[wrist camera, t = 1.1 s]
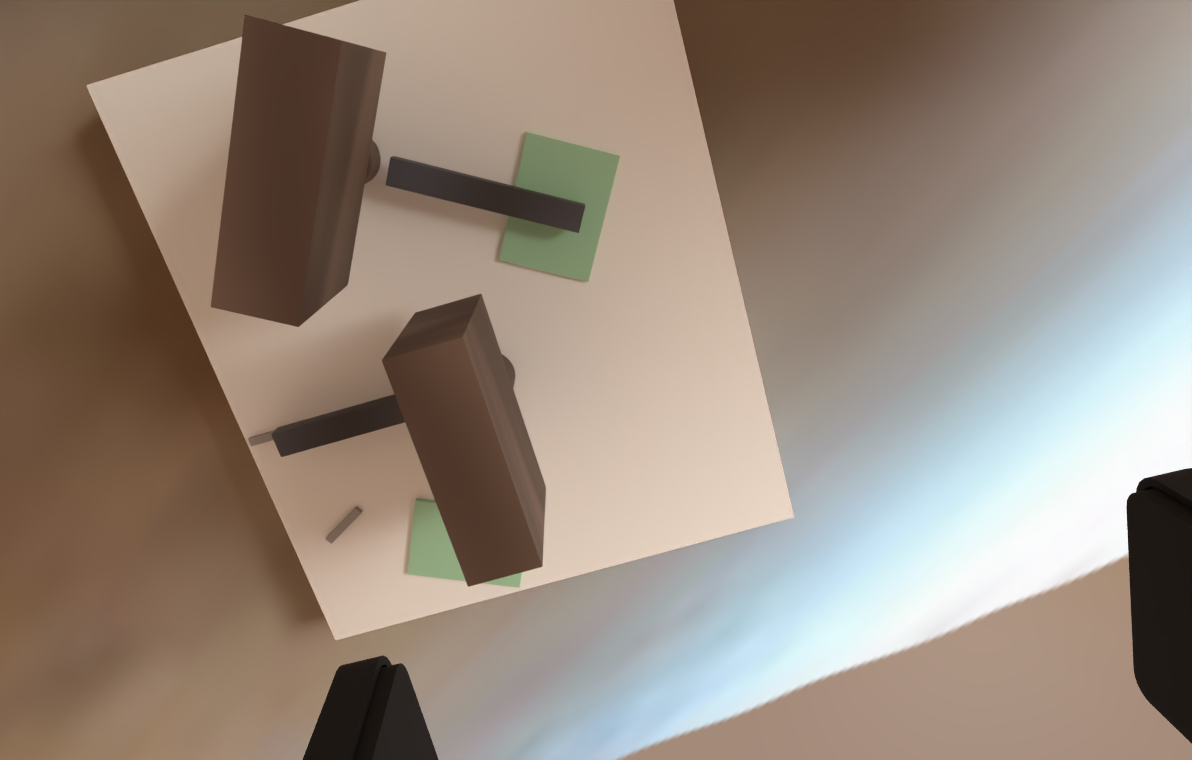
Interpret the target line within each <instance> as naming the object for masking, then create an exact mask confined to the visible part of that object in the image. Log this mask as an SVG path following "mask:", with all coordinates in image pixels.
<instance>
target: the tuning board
mask: <svg viewBox="0 0 1192 760" xmlns="http://www.w3.org/2000/svg"><path fill="white" fill-rule="evenodd" d="M282 25H286V26H289V27H293V28H297V29H301V30H304V31H308V32H312V33H316V34H320V35H323V36H327V37H331V38H335V39H339V40H342V41H346V42H350V43H353V44H357V45H361V46H364V47H368V48H372V49H375V50H379V51H383V52H386V59H385V65H384V71H383V77H382V83H381V89H380V95H379V101H378V107H377V113H376V119H375V125H374V131H373V137H372V140H373V141H374V142H375V143H376V145H377V147H378V149H379V152H380V157H381V162H380V168H379V171H378V173H377V174H376V176H375V177H374V178H373V179H372V180H371V181H369V182H368V183H366V184H365V185H364V191H363V197H362V203H361V209H360V215H359V221H358V227H357V233H356V239H355V245H354V251H353V257H352V263H351V269H350V275H349V282H348V285H347V286H346V287H345V288H344V289H343V290H342V291H340V292H339V293H338V294H337V295H336V296H335V297H333V298H332V299H331V300H330V301H329V302H328V303H326V304H325V305H324V306H323V307H322V308H320V309H319V310H318V311H317V312H316V313H315V314H313V315H312V316H311V317H310V318H309V319H308V320H306V321H305V322H304V323H303V324H302V325H301V326H299V327H296V326H292V325H287V324H283V323H278V322H274V321H270V320H265V319H261V318H256V317H252V316H247V315H243V314H239V313H234V312H230V311H225V310H221V309H217V308H212V307H211V299H212V290H213V282H214V273H215V265H216V256H217V248H218V239H219V231H220V222H221V214H222V205H223V197H224V188H225V180H226V171H227V163H228V154H229V146H230V137H231V129H232V120H233V112H234V103H235V95H236V86H237V78H238V69H239V61H240V52H241V44H242V37H240V38H237V39H234V40H230V41H227V42H224V43H221V44H217V45H214V46H211V47H208V48H205V49H201V50H198V51H195V52H192V53H188V54H185V55H182V56H179V57H176V58H172V59H169V60H166V61H163V62H159V63H156V64H153V65H150V66H146V67H143V68H140V69H137V70H134V71H130V72H127V73H124V74H121V75H117V76H114V77H111V78H108V79H105V80H101V81H98V82H95V83H92V84H88V85H86V86H87V89H88V91H89V93H90V95H91V98H92V100H93V102H94V104H95V106H96V109H97V111H98V113H99V115H100V118H101V120H102V122H103V124H104V126H105V129H106V131H107V133H108V135H109V138H110V140H111V142H112V144H113V146H114V149H115V151H116V153H117V155H118V158H119V160H120V162H121V164H122V167H123V169H124V171H125V173H126V175H127V178H128V180H129V182H130V184H131V187H132V189H133V191H134V193H135V195H136V198H137V200H138V202H139V204H140V207H141V209H142V211H143V213H144V215H145V218H146V220H147V222H148V224H149V227H150V229H151V231H152V233H153V235H154V238H155V240H156V242H157V244H158V247H159V249H160V251H161V253H162V256H163V258H164V260H165V262H166V264H167V267H168V269H169V271H170V273H171V276H172V278H173V280H174V282H175V284H176V287H177V289H178V291H179V293H180V296H181V298H182V300H183V302H184V304H185V307H186V309H187V311H188V313H189V316H190V318H191V320H192V322H193V324H194V327H195V329H196V331H197V333H198V336H199V338H200V340H201V342H202V345H203V347H204V349H205V351H206V353H207V356H208V358H209V360H210V362H211V365H212V367H213V369H214V371H215V373H216V376H217V378H218V380H219V382H220V385H221V387H222V389H223V391H224V393H225V396H226V398H227V400H228V402H229V405H230V407H231V409H232V411H233V413H234V416H235V418H236V420H237V422H238V425H239V427H240V429H241V431H242V433H243V436H244V438H245V440H246V442H247V445H248V447H249V449H250V451H251V454H252V456H253V458H254V460H255V462H256V465H257V467H258V469H259V471H260V474H261V476H262V478H263V480H264V482H265V485H266V487H267V489H268V491H269V494H270V496H271V498H272V500H273V502H274V505H275V507H276V509H277V511H278V514H279V516H280V518H281V520H282V522H283V525H284V527H285V529H286V531H287V534H288V536H289V538H290V540H291V543H292V545H293V547H294V549H295V551H296V554H297V556H298V558H299V560H300V563H301V565H302V567H303V569H304V571H305V574H306V576H307V578H308V580H309V583H310V585H311V587H312V589H313V591H314V594H315V596H316V598H317V600H318V603H319V605H320V607H321V609H322V611H323V614H324V616H325V618H326V620H327V623H328V625H329V627H330V629H331V631H332V634H333V636H334V638H335V640H339V639H343V638H347V637H350V636H354V635H358V634H361V633H365V632H369V631H373V630H376V629H380V628H384V627H387V626H391V625H395V624H399V623H402V622H406V621H410V620H413V619H417V618H421V617H425V616H428V615H432V614H436V613H439V612H443V611H447V610H451V609H454V608H458V607H462V606H466V605H469V604H473V603H477V602H480V601H484V600H488V599H492V598H495V597H499V596H503V595H506V594H510V593H514V592H518V591H521V590H525V589H529V588H532V587H536V586H540V585H544V584H547V583H551V582H555V581H559V580H562V579H566V578H570V577H573V576H577V575H581V574H585V573H588V572H592V571H596V570H599V569H603V568H607V567H611V566H614V565H618V564H622V563H625V562H629V561H633V560H637V559H640V558H644V557H648V556H651V555H655V554H659V553H663V552H666V551H670V550H674V549H678V548H681V547H685V546H689V545H692V544H696V543H700V542H704V541H707V540H711V539H715V538H718V537H722V536H726V535H730V534H733V533H737V532H741V531H744V530H748V529H752V528H756V527H759V526H763V525H767V524H771V523H774V522H778V521H782V520H785V519H789V518H793V517H794V514H793V510H792V506H791V502H790V497H789V493H788V489H787V484H786V480H785V476H784V472H783V467H782V463H781V459H780V454H779V450H778V446H777V442H776V437H775V433H774V429H773V424H772V420H771V416H770V412H769V407H768V403H767V399H766V395H765V390H764V386H763V382H762V377H761V373H760V369H759V365H758V360H757V356H756V352H755V347H754V343H753V339H752V335H751V330H750V326H749V322H748V317H747V313H746V309H745V305H744V300H743V296H742V292H741V287H740V283H739V279H738V275H737V270H736V266H735V262H734V257H733V253H732V249H731V245H730V240H729V236H728V232H727V227H726V223H725V219H724V215H723V210H722V206H721V202H720V198H719V193H718V189H717V185H716V180H715V176H714V172H713V168H712V163H711V159H710V155H709V150H708V146H707V142H706V138H705V133H704V129H703V125H702V120H701V116H700V112H699V108H698V103H697V99H696V95H695V90H694V86H693V82H692V78H691V73H690V69H689V65H688V60H687V56H686V52H685V48H684V43H683V39H682V35H681V30H680V26H679V22H678V18H677V13H676V9H675V5H674V0H359V1H356V2H353V3H350V4H347V5H343V6H340V7H337V8H334V9H330V10H327V11H324V12H321V13H317V14H314V15H311V16H308V17H305V18H301V19H298V20H295V21H292V22H288V23H285V24H282ZM393 156H397V157H401V158H405V159H409V160H413V161H417V162H421V163H425V164H428V165H432V166H436V167H440V168H444V169H448V170H452V171H456V172H460V173H464V174H468V175H472V176H476V177H480V178H484V179H488V180H492V181H496V182H500V183H504V184H508V185H512V186H516V187H520V188H524V189H528V190H532V191H536V192H540V193H544V194H548V195H552V196H556V197H560V198H564V199H568V200H572V201H576V202H580V203H584V204H585V210H584V214H583V218H582V222H581V226H580V230H579V233H576V232H572V231H568V230H564V229H560V228H556V227H552V226H548V225H544V224H540V223H536V222H532V221H528V220H524V219H520V218H515V217H511V216H507V215H503V214H499V213H495V212H491V211H487V210H483V209H479V208H475V207H471V206H467V205H463V204H459V203H455V202H451V201H447V200H443V199H439V198H435V197H431V196H427V195H423V194H419V193H414V192H410V191H406V190H402V189H398V188H394V187H390V186H386V179H387V173H388V168H389V162H390V157H393ZM478 294H482V297H483V300H484V303H485V306H486V309H487V312H488V315H489V318H490V321H491V324H492V327H493V330H494V333H495V336H496V339H497V342H498V345H499V348H500V351H501V354H502V355H504V356H505V357H507V358H508V359H509V360H510V362H511V363H512V365H513V367H514V370H515V382H514V388H513V390H514V393H515V396H516V399H517V402H518V405H519V408H520V411H521V414H522V417H523V420H524V423H525V426H526V429H527V432H528V435H529V438H530V441H531V444H532V447H533V450H534V453H535V456H536V459H537V462H538V465H539V468H540V471H541V474H542V477H543V480H544V483H545V486H546V500H545V521H544V543H543V565H542V567H540V568H536V569H533V570H529V571H525V572H521V573H518V574H514V575H510V576H507V577H503V578H499V579H496V580H492V581H488V582H484V583H481V584H477V585H473V586H470V587H468V585H467V583H466V580H465V578H464V575H463V572H462V570H461V567H460V564H459V562H458V559H457V557H456V554H455V551H454V549H453V546H452V543H451V541H450V538H449V536H448V533H447V530H446V528H445V525H444V523H443V520H442V517H441V515H440V512H439V509H438V507H437V504H436V502H435V499H434V496H433V494H432V491H431V488H430V486H429V483H428V481H427V478H426V475H425V473H424V470H423V468H422V465H421V462H420V460H419V457H418V454H417V452H416V449H415V447H414V444H413V441H412V439H411V436H410V433H409V431H408V428H407V426H406V423H401V424H398V425H394V426H390V427H387V428H383V429H380V430H376V431H373V432H369V433H366V434H362V435H359V436H355V437H351V438H348V439H344V440H341V441H337V442H334V443H330V444H327V445H323V446H319V447H316V448H312V449H309V450H305V451H302V452H298V453H295V454H291V455H288V456H284V457H281V456H280V454H279V451H278V449H277V447H276V444H275V442H274V440H273V438H272V435H271V434H272V433H273V432H274V431H275V430H276V429H277V427H281V426H284V425H288V424H291V423H295V422H298V421H302V420H305V419H309V418H312V417H316V416H319V415H323V414H327V413H330V412H334V411H337V410H341V409H344V408H348V407H351V406H355V405H358V404H362V403H365V402H369V401H372V400H376V399H379V398H383V397H386V396H390V395H393V394H394V392H393V389H392V386H391V384H390V381H389V378H388V376H387V373H386V371H385V368H384V365H383V363H382V359H383V358H384V356H385V355H386V353H387V352H388V350H389V349H390V348H391V346H392V345H393V343H394V342H395V340H396V339H397V338H398V336H399V335H400V333H401V332H402V330H403V329H404V328H405V326H406V325H407V323H408V322H409V320H410V319H411V318H412V316H413V315H414V313H416V312H419V311H423V310H426V309H430V308H433V307H436V306H440V305H443V304H447V303H450V302H454V301H457V300H461V299H464V298H468V297H471V296H475V295H478Z"/></svg>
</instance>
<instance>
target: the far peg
mask: <svg viewBox="0 0 1192 760" xmlns="http://www.w3.org/2000/svg"><path fill="white" fill-rule="evenodd" d="M382 363H383V365H384V368H385V371H386V373H387V376H388V378H389V381H390V384H391V386H392V389H393V392H394V394H393V395H390V396H386V397H383V398H379V399H376V400H372V401H369V402H365V403H362V404H358V405H355V406H351V407H348V408H344V409H341V410H337V411H334V412H330V413H327V414H323V415H319V416H316V417H312V418H309V419H305V420H302V421H298V422H295V423H291V424H288V425H284V426H281V427H277V429H276V430H275V431H274V432H273V433H272V434H271V435H272V438H273V440H274V442H275V444H276V447H277V449H278V451H279V454H280V456H281V457H284V456H288V455H291V454H295V453H298V452H302V451H305V450H309V449H312V448H316V447H319V446H323V445H327V444H330V443H334V442H337V441H341V440H344V439H348V438H351V437H355V436H359V435H362V434H366V433H369V432H373V431H376V430H380V429H383V428H387V427H390V426H394V425H398V424H401V423H406V426H407V428H408V431H409V433H410V436H411V439H412V441H413V444H414V447H415V449H416V452H417V454H418V457H419V460H420V462H421V465H422V468H423V470H424V473H425V475H426V478H427V481H428V483H429V486H430V488H431V491H432V494H433V496H434V499H435V502H436V504H437V507H438V509H439V512H440V515H441V517H442V520H443V523H444V525H445V528H446V530H447V533H448V536H449V538H450V541H451V543H452V546H453V549H454V551H455V554H456V557H457V559H458V562H459V564H460V567H461V570H462V572H463V575H464V578H465V580H466V583H467V585H468V587H470V586H473V585H477V584H481V583H484V582H488V581H492V580H496V579H499V578H503V577H507V576H510V575H514V574H518V573H521V572H525V571H529V570H533V569H536V568H540V567H542V565H543V543H544V521H545V500H546V486H545V483H544V480H543V477H542V474H541V471H540V468H539V465H538V462H537V459H536V456H535V453H534V450H533V447H532V444H531V441H530V438H529V435H528V432H527V429H526V426H525V423H524V420H523V417H522V414H521V411H520V408H519V405H518V402H517V399H516V396H515V393H514V390H513V388H514V382H515V370H514V367H513V365H512V363H511V362H510V360H509V359H508V358H507V357H505V356H504V355H502V354H501V351H500V348H499V345H498V342H497V339H496V336H495V333H494V330H493V327H492V324H491V321H490V318H489V315H488V312H487V309H486V306H485V303H484V300H483V297H482V294H478V295H475V296H471V297H468V298H464V299H461V300H457V301H454V302H450V303H447V304H443V305H440V306H436V307H433V308H430V309H426V310H423V311H419V312H416V313H414V315H413V316H412V318H411V319H410V320H409V322H408V323H407V325H406V326H405V328H404V329H403V330H402V332H401V333H400V335H399V336H398V338H397V339H396V340H395V342H394V343H393V345H392V346H391V348H390V349H389V350H388V352H387V353H386V355H385V356H384V358H383V359H382Z"/></svg>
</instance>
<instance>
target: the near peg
mask: <svg viewBox="0 0 1192 760" xmlns="http://www.w3.org/2000/svg"><path fill="white" fill-rule="evenodd" d="M385 59H386V52H383V51H379V50H375V49H372V48H368V47H364V46H361V45H357V44H353V43H350V42H346V41H342V40H339V39H335V38H331V37H327V36H323V35H320V34H316V33H312V32H308V31H304V30H301V29H297V28H293V27H289V26H286V25H282V24H278V23H274V22H270V21H267V20H263V19H259V18H255V17H252V16H248V15H245V18H244V27H243V35H242V44H241V52H240V61H239V69H238V78H237V86H236V95H235V103H234V112H233V120H232V129H231V137H230V146H229V154H228V163H227V171H226V180H225V188H224V197H223V205H222V214H221V222H220V231H219V239H218V248H217V256H216V265H215V273H214V282H213V290H212V299H211V307H212V308H217V309H221V310H225V311H230V312H234V313H239V314H243V315H247V316H252V317H256V318H261V319H265V320H270V321H274V322H278V323H283V324H287V325H292V326H296V327H299V326H301V325H302V324H303V323H304V322H305V321H306V320H308V319H309V318H310V317H311V316H312V315H313V314H315V313H316V312H317V311H318V310H319V309H320V308H322V307H323V306H324V305H325V304H326V303H328V302H329V301H330V300H331V299H332V298H333V297H335V296H336V295H337V294H338V293H339V292H340V291H342V290H343V289H344V288H345V287H346V286H347V285H348V282H349V275H350V269H351V263H352V257H353V251H354V245H355V239H356V233H357V227H358V221H359V215H360V209H361V203H362V197H363V191H364V185H365V184H366V183H368V182H369V181H371V180H372V179H373V178H374V177H375V176H376V174H377V173H378V171H379V168H380V162H381V157H380V152H379V149H378V147H377V145H376V143H375V142H374V141H373V140H372V137H373V131H374V125H375V119H376V113H377V107H378V101H379V95H380V89H381V83H382V77H383V71H384V65H385ZM386 186H390V187H394V188H398V189H402V190H406V191H410V192H414V193H419V194H423V195H427V196H431V197H435V198H439V199H443V200H447V201H451V202H455V203H459V204H463V205H467V206H471V207H475V208H479V209H483V210H487V211H491V212H495V213H499V214H503V215H507V216H511V217H515V218H520V219H524V220H528V221H532V222H536V223H540V224H544V225H548V226H552V227H556V228H560V229H564V230H568V231H572V232H576V233H579V230H580V226H581V222H582V218H583V214H584V210H585V204H584V203H580V202H576V201H572V200H568V199H564V198H560V197H556V196H552V195H548V194H544V193H540V192H536V191H532V190H528V189H524V188H520V187H516V186H512V185H508V184H504V183H500V182H496V181H492V180H488V179H484V178H480V177H476V176H472V175H468V174H464V173H460V172H456V171H452V170H448V169H444V168H440V167H436V166H432V165H428V164H425V163H421V162H417V161H413V160H409V159H405V158H401V157H397V156H393V157H390V162H389V168H388V173H387V179H386Z"/></svg>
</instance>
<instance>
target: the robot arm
mask: <svg viewBox="0 0 1192 760" xmlns="http://www.w3.org/2000/svg"><path fill="white" fill-rule="evenodd" d="M1127 527H1128V550H1129V570H1130V571H1129V572H1130V594H1131V616H1132V638H1133V662H1134V673H1135V678H1136V680H1137V684H1138V686H1139V688H1140V690H1141V692H1142V693H1143V695H1144V696H1145V698H1146V699H1147V700H1148V701H1149V702H1150V703H1151V704H1152V705H1153V706H1154V707H1155V708H1156V709H1157V710H1158V711H1159V712H1160V713H1161V714H1162V715H1163V716H1164V717H1165V718H1166V719H1167V720H1168V721H1169V722H1170V723H1171V724H1172V725H1173V726H1174V727H1175V728H1176V729H1177V730H1179V732H1180V733H1182V734H1183V735H1184V736H1185V737H1186V738H1187V739H1188V740H1189V741H1190V742H1191V743H1192V468H1190V469H1183V470H1179V471H1174V472H1170V473H1166V474H1161V475H1157V476H1153V477H1149V478H1144V479H1143V480H1142V481H1140V482H1139V484H1138V487H1137V491H1136V493H1132V494H1131V495H1130V496H1129V497H1128V500H1127ZM303 760H438V757H437V754H436V751H435V748H434V746H433V743H432V740H431V737H430V734H429V731H428V729H427V726H426V723H425V720H424V717H423V714H422V711H421V709H420V706H419V703H418V700H417V697H416V694H415V691H414V689H413V686H412V683H411V680H410V677H409V674H408V672H407V670H406V668H405V666H404V665H403V664H401V663H400V664H396V665H391V663H390V661H389V660H388V658H387V657H385V656H379V657H375V658H371V659H366V660H362V661H358V662H354V663H349V664H345V665H342V666H340V667H339V668H338V670H337V671H336V674H335V676H334V679H333V682H332V684H331V687H330V689H329V692H328V695H327V697H326V700H325V703H324V705H323V708H322V710H321V713H320V716H319V718H318V721H317V724H316V726H315V729H314V731H313V734H312V737H311V739H310V742H309V745H308V747H307V750H306V752H305V755H304V758H303Z"/></svg>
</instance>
